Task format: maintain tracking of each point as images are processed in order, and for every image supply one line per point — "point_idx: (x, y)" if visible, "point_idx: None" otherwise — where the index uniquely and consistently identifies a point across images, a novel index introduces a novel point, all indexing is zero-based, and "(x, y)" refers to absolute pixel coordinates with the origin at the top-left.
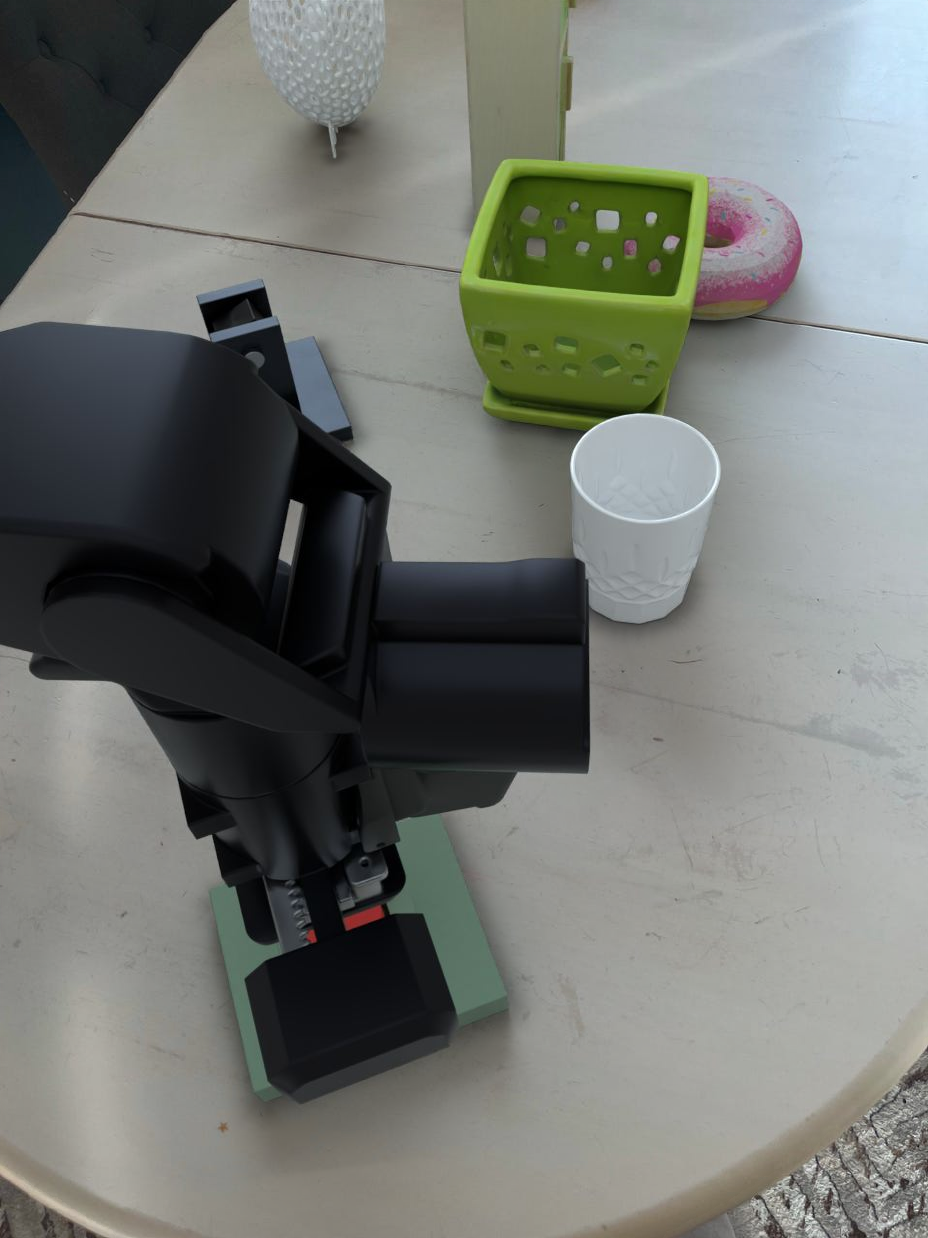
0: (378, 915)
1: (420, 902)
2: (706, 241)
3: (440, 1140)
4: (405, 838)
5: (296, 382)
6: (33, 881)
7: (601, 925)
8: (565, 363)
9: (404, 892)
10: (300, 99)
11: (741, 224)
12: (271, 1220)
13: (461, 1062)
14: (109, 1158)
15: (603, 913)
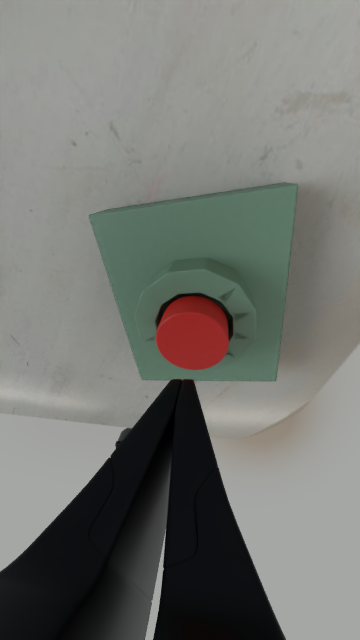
0: (198, 316)
1: (178, 252)
2: None
3: (355, 267)
4: (117, 253)
5: None
6: (125, 421)
7: (242, 24)
8: None
9: (173, 276)
10: None
11: None
12: (334, 367)
13: (308, 238)
14: (263, 416)
15: (228, 15)
